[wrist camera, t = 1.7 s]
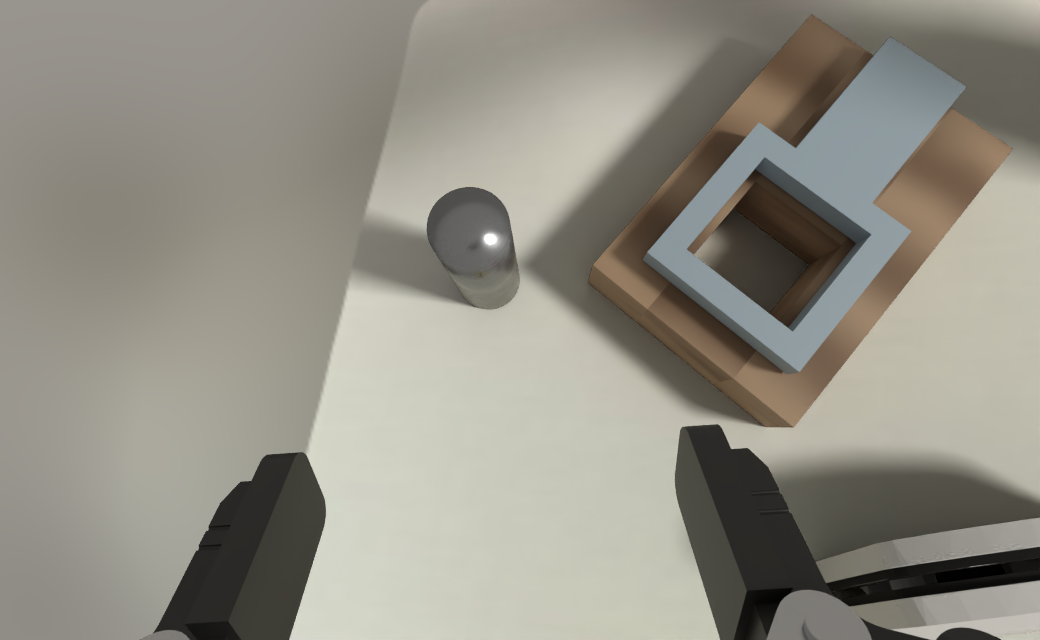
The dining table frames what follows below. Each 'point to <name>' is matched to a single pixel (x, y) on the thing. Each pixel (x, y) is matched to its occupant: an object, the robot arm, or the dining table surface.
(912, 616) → the white game console
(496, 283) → the pin
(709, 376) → the wooden block
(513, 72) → the dining table surface
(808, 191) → the link
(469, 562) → the dining table surface
